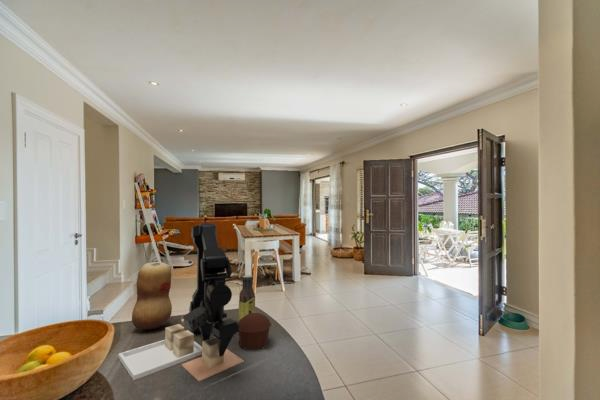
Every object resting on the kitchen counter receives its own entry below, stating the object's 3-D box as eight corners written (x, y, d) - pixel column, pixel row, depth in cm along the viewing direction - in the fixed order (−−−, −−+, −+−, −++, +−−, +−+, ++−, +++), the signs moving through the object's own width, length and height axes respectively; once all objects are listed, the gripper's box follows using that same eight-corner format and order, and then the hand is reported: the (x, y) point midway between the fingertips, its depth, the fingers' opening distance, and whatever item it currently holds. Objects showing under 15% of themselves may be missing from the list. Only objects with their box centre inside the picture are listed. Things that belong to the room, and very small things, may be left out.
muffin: (240, 356, 88) (240, 323, 88) (232, 341, 98) (233, 312, 98) (276, 348, 93) (276, 317, 93) (265, 334, 103) (265, 307, 103)
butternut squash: (152, 338, 100) (153, 267, 101) (122, 333, 104) (124, 265, 104) (179, 323, 113) (180, 260, 114) (152, 319, 117) (154, 259, 118)
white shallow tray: (183, 338, 100) (184, 333, 100) (205, 355, 88) (205, 349, 89) (118, 359, 86) (118, 353, 86) (133, 382, 74) (133, 375, 74)
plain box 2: (187, 348, 91) (187, 329, 92) (193, 353, 88) (193, 334, 88) (173, 353, 88) (173, 334, 88) (179, 359, 85) (179, 338, 85)
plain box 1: (178, 341, 96) (179, 323, 96) (184, 346, 93) (184, 327, 93) (164, 346, 93) (165, 327, 93) (170, 350, 90) (170, 331, 90)
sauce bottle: (251, 332, 105) (251, 278, 106) (235, 330, 106) (236, 277, 107) (257, 325, 112) (257, 274, 112) (242, 324, 113) (243, 274, 114)
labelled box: (216, 356, 86) (216, 336, 86) (223, 362, 83) (223, 341, 83) (202, 362, 83) (202, 341, 83) (209, 368, 80) (209, 346, 80)
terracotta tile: (224, 350, 92) (224, 347, 92) (243, 363, 84) (243, 360, 84) (181, 367, 82) (181, 364, 82) (198, 383, 74) (198, 380, 74)
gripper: (174, 295, 84) (173, 348, 84) (203, 311, 71) (202, 374, 71) (208, 288, 92) (208, 336, 92) (240, 301, 79) (240, 358, 79)
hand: (213, 350), depth 83 cm, fingers open, 9 cm apart
